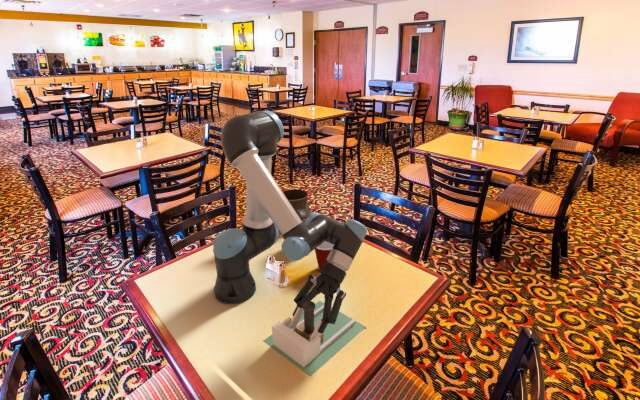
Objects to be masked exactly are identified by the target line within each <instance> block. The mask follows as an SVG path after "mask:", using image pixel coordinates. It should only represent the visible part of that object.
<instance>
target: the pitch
mask: <svg viewBox="0 0 640 400" xmlns="http://www.w3.org/2000/svg"><path fill="white" fill-rule="evenodd" d="M332 307H333V306H331V310H332ZM323 310H324V302H323V301H322V300H319V301H317V302H316V303H315V309H314V327H315V328H316V326H317V324H318V322H319V320H321V319H322V318H323ZM303 322H304V312H303V314H302V316H301V318H300V320H299V322H298V324H297V326H298V325H300V324H301V323H303ZM297 326H296V327H297ZM292 330H293V331H294V332H296V328H295V329H292ZM364 330H367V326H365V325H364V324H362V323H360V322H358V321H357V320H355V319H353V318H352V317H350V316H348V315H346V314H344V313H343V312H341V311H339V313H338V316H337V319H336V322H335V324H328V325H327V327H326V329H325V331H324V341H323V342H321V343H320V349H321V353H320V354H319V355H318V356H317V357H315V358H314V359H313V360H312V361H311V362H310V363H308V364H307V365H306V366H305V367H303V366H301V365H300V364H299V363H297V362H296V361H295V360H293V359H292V358H291V357H289V356H288V355H287V354H285V353H284V352H283V351H281V350H280V349H279V348H277V347H276V346H275V345H273V335H272V334H270V335H269V336H268V337H266V338H265V339H263V340H262V342H264V343H265V344H266V345H268V346H269V347H270V348H272V349H274V351H276V352H277V353H279V354H280V355H281V356H283V357H284V358H285V359H287V360H288V361H289V362H290V363H292V364H293V365H295V366H296V367H297V368H299V369H300V370H301V371H303V372H304V373H305V374H306V375H308V377H312V376H313V375H314V374H315V373H316V372H317V371H318V370H319V369H320V368H322V367H323V366H324V365H326V363H327V362H328V361H330V359H332V358H333V357H334V356H336V354H337V353H338V352H339V351H341V350H342V349H343V348H344V347H346V345H348V343H350V342H351V341H352V340H353V339H354V338H356V336H358V335H359V334H360V333H361V332H362V331H364Z"/></svg>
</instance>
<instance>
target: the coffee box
mask: <svg viewBox="0 0 640 400" xmlns="http://www.w3.org/2000/svg"><path fill="white" fill-rule="evenodd" d="M296 213H297V215H298V216H299V218H300V219H301V221H302V222H303V224H304V225H305V222H306V219H307V218H308V217H309V215H310V214H311V213H313V211H312V210H311V209H310V208H309V207H308V208H306V209H299V210H296Z"/></svg>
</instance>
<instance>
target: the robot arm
mask: <svg viewBox="0 0 640 400" xmlns="http://www.w3.org/2000/svg"><path fill="white" fill-rule="evenodd" d="M284 135H285V130H284V125H283V122H282V121H281V119H280V118H279V116H278V115H277V114H276V113H274V112H273V111H271V110H257V111H254V112H249V113H244V114H238V115H235V116H234V115H233V116H232V117H230V118H228V119H227V121H226V122H225V123H224V125H223V127H222V130H221V135H220V144H221V147H222V151H223V154H224V157H225V158H226V160H227V162H228V163H229V164H230V166H231V167H232V168H236V169H237V171H239V173H240V175H241V176H242V178H243V179H244V181H245V183H246V184H245V185H246V186H245V187H246V189H245V190H246V194H245V195H246V196H245V197H246V199H245V215H244V216H242V218H241V228H236V227H235V228H230V229H225V230H223V231H221V232H219V233H218V234H217V235H216V236H215V237H214V239H213V242H212V243H213V244H212V245H213V246H212V247H213V249H212V252H213V255H214V262H215V269H216V278H215V284H214V288H213V293H214V294H213V295H214V297H215V299H216V300H217V301H218V302H220V303H222V304H230V305H231V304H240V303H243V302H245V301H247V300H249V299H251V298H252V297H253V296H254V295H255V293H256V291H257V285H256V281H255V278H254V277H253V274H252V273H251V270H250V263H249V262H250V261H251V260H253V259H254V258H256V257H257V256H258V255H259V256H260V254H262V253H264V252H266V251H267V250H268V249H270V248H271V247H272V246H273V245H275V244H276V243H277V241H278V238H279V234H280V235H281V237H282V238H283V241H282V243H281V248H282V253H283V255H284V256H285V257H286V258H287V259H289V260H290V261H293V262H297V261H301V260H302V259H304V258H305V257H307V256H309V255H310V253H311V252H312V251H315V248H317V247H318V246H319V245H321V244H322V243H323V242H325V241H327V242H329V243H331V244H334V246H333V248H332V250H331V252H330V254H329V256H328V258H327V261H328V262H326V263H325V264H324V265H323V267H322V269H321V271H320V272H319V273H320V274H319V275H317V276H315V275H313V274H309V275H308V278H307V280H306V282H304V285H303V286H302V287H301V289H300V290H299V292H298V293H297V294H296V296H295V297H294V298H293V302H294V303H295V304H296V307H295V309H294V311H293V312H292V316H293V317H291V319H292V320H291V322H290V324H289V326H288V327H289V328H292V329H295V328H296V326H297V324H298V322H299V320H300V318H301V316H302V314H303V312H304V310H303V308H302V305H303V303H304V302H306V301H312V300H314V299H315V298H316V297H317V296H318V295H320V294H322V295H324V302H323V303H324V310H323V318H322V319H321V320H319V322H318V324H317V326H316V328H315V330H314V332H313V334H312V336H311V338H310V340H309V341H312V340H313V339H314V338H315V337H317V336H319V335H320V333H321V334H323V333H324V331H325V329H326V327H327V325H328V324H335V322H336V319H337V316H338V313H339V312H340V310H341V306H342V303H343V300H344V299H345V297H346V296H347V292H345V291H344V290H342V289H341V284H342V283H343V281H344V280H345V277H346V276H347V271H349V269H350V267H351V266H352V263H353V261H354V259H355V257H356V255H357V253H358V251H359V250H360V248H361V246H362V244H363V243H364V240H365V237H366V236H367V233H368V228H367V227H366V225H364V224H363V223H361V222H360V221H357V220H355V219H351V218H348V219H346V221H345V222H341V221H338V220H336V219H335V218H332V217H330V216H328V215H325V214H324V213H320V212H316V211H314V212H313V211H312V213H311V214H310V215H309V217H308V218H307V219H306V222H305V225H304V224H303V222H302V221H301V219H300V218H299V216H298V215H297V213H296V212H295V210H294V209H293V207H292V206H291V204H290V203H289V201H288V200H287V198H286V197H285V195H284V194H283V190H282V188H280V185H279V184H278V183H277V181H276V180H275V179H274V177H273V175H272V160H273V159H272V158H273V156H275V155H276V154H277V144H278V143H279V142H280V141H282V140H283V137H284ZM335 294H336V296H335V298H334V295H335ZM333 300H334V301H333ZM331 307H332V310H331Z"/></svg>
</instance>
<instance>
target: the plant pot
mask: <svg viewBox="0 0 640 400" xmlns="http://www.w3.org/2000/svg"><path fill="white" fill-rule="evenodd" d="M282 192H283V194H284V195H285V197H286V198H287V200H288V201H289V203H290V204H291V206H292V207H293V209H294V210H295V212H296V210H299V209H307V207H308V201H309V193H308V192H307V190H303V189H298V188H296V189H292V188H291V189H286V190H282Z"/></svg>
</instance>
